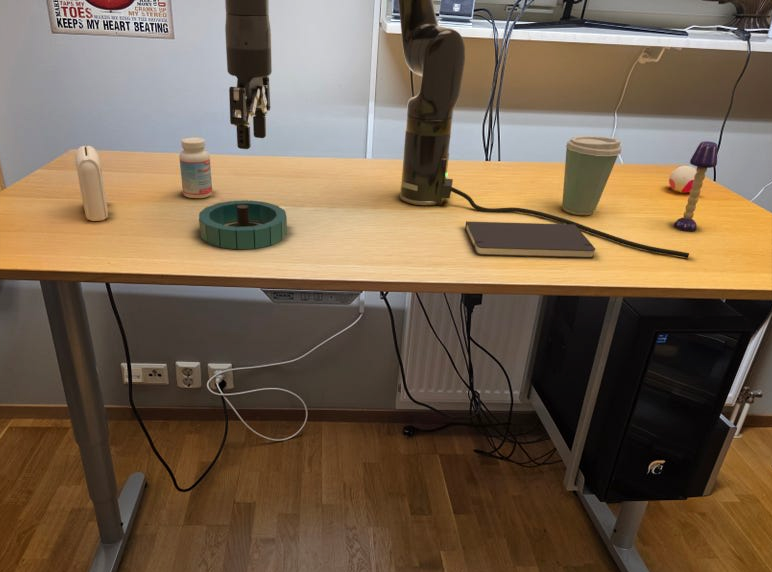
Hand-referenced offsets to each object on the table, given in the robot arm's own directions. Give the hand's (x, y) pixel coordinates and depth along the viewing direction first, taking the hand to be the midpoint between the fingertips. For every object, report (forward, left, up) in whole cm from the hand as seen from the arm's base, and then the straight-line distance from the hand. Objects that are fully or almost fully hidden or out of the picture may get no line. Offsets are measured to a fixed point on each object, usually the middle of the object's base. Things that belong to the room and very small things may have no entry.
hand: (252, 142), depth 119 cm
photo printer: (+30, +5, -15) cm, 34 cm away
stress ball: (-88, -47, -15) cm, 100 cm away
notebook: (-52, -4, -15) cm, 54 cm away
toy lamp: (-83, -22, -15) cm, 87 cm away
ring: (0, +7, -15) cm, 16 cm away
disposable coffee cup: (-63, -26, -15) cm, 69 cm away
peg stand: (0, +7, -15) cm, 16 cm away
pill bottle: (+16, -11, -15) cm, 25 cm away
